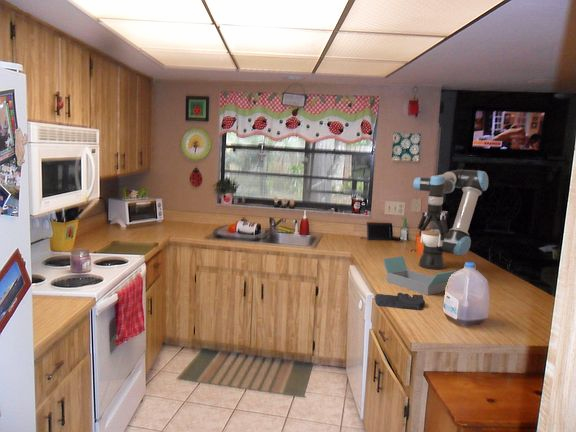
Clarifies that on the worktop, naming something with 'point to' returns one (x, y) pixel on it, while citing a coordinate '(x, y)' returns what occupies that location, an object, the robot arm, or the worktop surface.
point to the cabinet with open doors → (414, 277)
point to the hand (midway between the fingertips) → (431, 244)
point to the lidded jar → (430, 238)
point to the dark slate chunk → (400, 301)
